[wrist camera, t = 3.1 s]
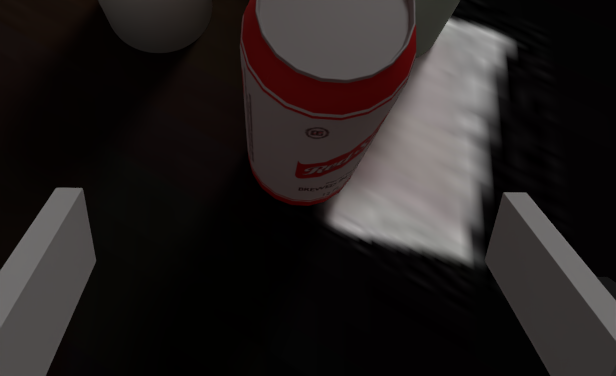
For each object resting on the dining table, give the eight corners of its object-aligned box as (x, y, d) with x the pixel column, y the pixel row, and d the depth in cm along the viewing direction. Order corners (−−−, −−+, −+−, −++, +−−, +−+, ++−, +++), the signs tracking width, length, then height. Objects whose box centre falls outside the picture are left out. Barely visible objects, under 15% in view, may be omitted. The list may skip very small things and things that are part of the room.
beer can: (373, 163, 32) (474, 17, 17) (297, 231, 31) (332, 138, 16) (304, 91, 33) (340, -111, 18) (227, 154, 32) (194, -7, 16)
